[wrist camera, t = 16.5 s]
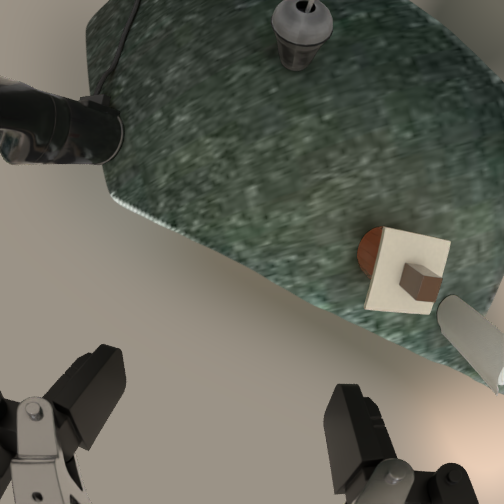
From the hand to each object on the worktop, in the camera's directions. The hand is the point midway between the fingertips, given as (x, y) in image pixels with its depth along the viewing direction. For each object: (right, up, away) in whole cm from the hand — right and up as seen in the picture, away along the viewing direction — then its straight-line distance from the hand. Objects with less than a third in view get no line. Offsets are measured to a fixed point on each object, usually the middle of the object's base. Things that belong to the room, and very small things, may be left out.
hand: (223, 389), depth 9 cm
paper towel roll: (+38, -6, +35) cm, 52 cm away
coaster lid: (+21, +2, +23) cm, 31 cm away
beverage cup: (+7, +34, +26) cm, 44 cm away
